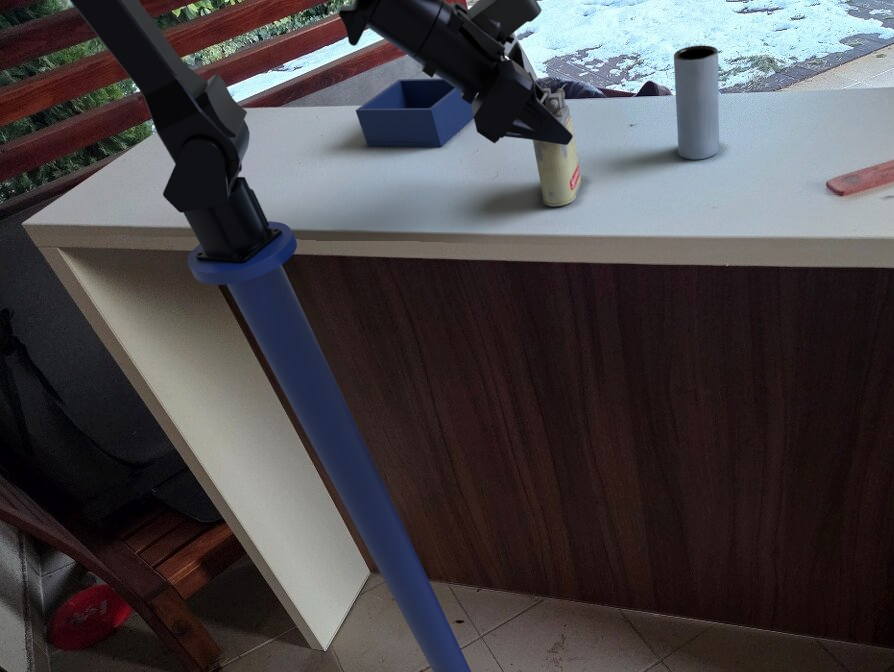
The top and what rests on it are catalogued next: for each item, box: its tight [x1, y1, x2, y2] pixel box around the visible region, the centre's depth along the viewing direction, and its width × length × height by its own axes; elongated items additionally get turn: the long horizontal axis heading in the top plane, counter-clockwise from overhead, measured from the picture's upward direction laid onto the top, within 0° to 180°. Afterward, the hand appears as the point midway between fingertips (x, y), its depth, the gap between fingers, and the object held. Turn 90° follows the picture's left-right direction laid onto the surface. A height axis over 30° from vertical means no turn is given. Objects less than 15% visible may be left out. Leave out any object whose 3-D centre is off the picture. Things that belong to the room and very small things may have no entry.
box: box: [355, 78, 476, 148], centre depth 99 cm, size 11×11×5 cm
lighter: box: [532, 87, 583, 207], centre depth 77 cm, size 7×4×10 cm, turn 171°
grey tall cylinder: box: [673, 45, 720, 160], centre depth 80 cm, size 4×4×10 cm
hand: (564, 128), depth 76 cm, fingers closed on lighter, 7 cm apart
